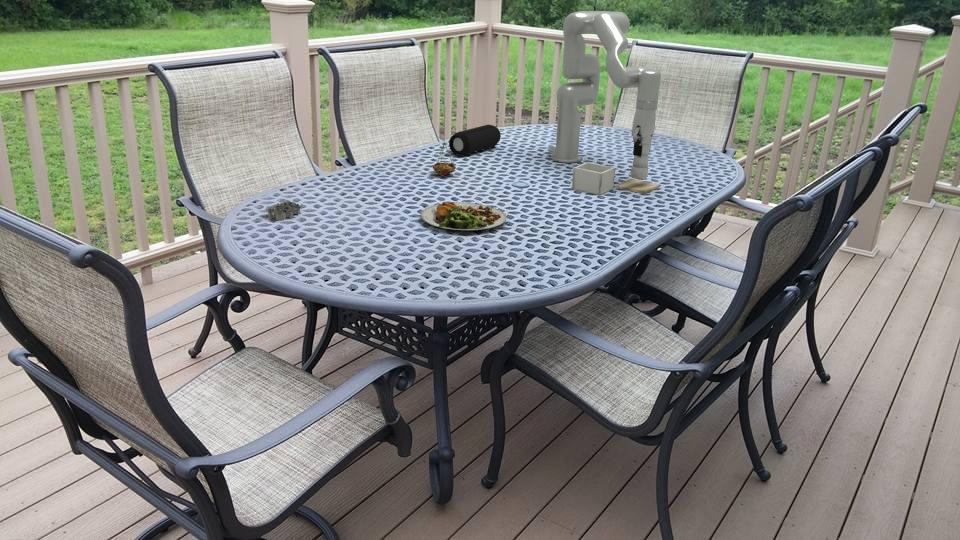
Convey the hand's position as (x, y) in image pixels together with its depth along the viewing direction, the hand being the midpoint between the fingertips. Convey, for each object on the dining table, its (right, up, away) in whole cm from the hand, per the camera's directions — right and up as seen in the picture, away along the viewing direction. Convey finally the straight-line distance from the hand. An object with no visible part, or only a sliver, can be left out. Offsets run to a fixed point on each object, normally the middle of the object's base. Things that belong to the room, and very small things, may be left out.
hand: (641, 153), depth 293 cm
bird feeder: (-73, -7, +12) cm, 75 cm away
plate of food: (-65, -27, -35) cm, 79 cm away
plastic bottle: (0, -9, +4) cm, 10 cm away
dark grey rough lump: (-123, -26, -36) cm, 130 cm away
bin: (-18, -13, +2) cm, 22 cm away
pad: (0, -12, +5) cm, 13 cm away
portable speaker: (-62, +8, +48) cm, 78 cm away
